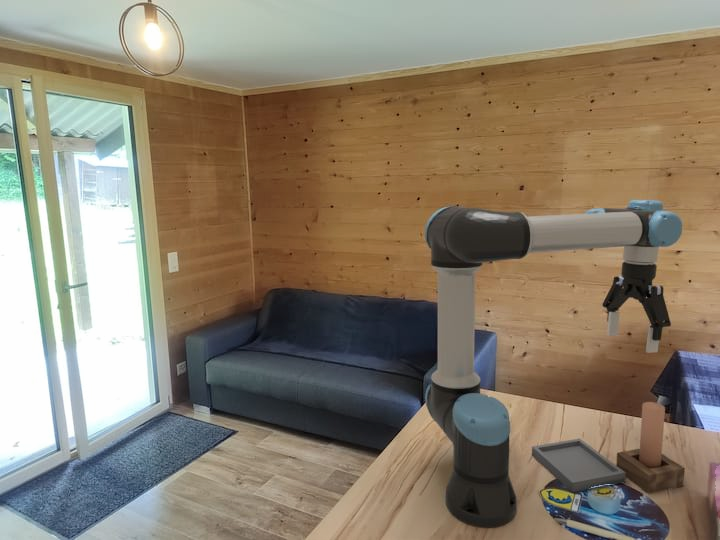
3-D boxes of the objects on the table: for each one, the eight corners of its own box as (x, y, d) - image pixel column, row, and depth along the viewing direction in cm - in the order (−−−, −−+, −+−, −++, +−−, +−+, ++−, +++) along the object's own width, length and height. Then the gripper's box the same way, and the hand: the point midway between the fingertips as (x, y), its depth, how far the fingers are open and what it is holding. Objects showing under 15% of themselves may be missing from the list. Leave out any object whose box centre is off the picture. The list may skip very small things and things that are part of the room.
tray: (572, 492, 109) (572, 482, 108) (531, 455, 124) (532, 446, 124) (625, 482, 112) (625, 472, 111) (579, 447, 127) (579, 438, 127)
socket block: (647, 493, 107) (649, 475, 107) (616, 469, 117) (617, 452, 116) (683, 486, 110) (684, 468, 109) (649, 463, 119) (650, 446, 118)
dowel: (648, 484, 110) (653, 411, 107) (633, 474, 115) (638, 403, 112) (664, 481, 111) (669, 409, 108) (649, 471, 116) (653, 400, 113)
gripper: (695, 270, 109) (684, 359, 113) (616, 254, 133) (609, 328, 137) (667, 271, 108) (657, 361, 111) (592, 255, 132) (586, 329, 136)
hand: (630, 343), depth 124 cm, fingers open, 13 cm apart
